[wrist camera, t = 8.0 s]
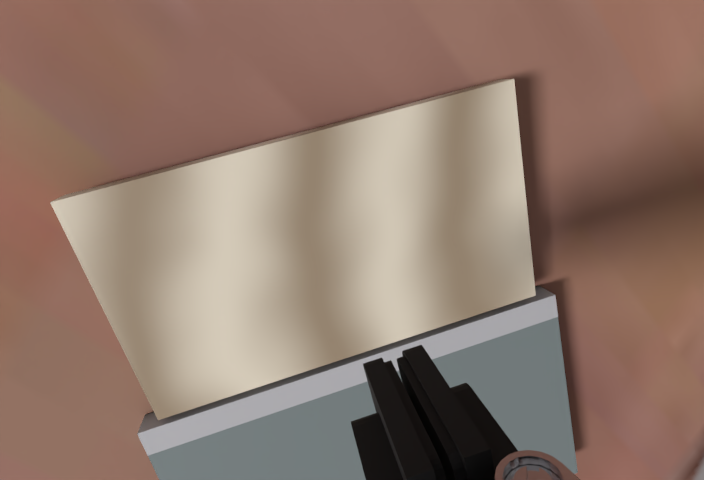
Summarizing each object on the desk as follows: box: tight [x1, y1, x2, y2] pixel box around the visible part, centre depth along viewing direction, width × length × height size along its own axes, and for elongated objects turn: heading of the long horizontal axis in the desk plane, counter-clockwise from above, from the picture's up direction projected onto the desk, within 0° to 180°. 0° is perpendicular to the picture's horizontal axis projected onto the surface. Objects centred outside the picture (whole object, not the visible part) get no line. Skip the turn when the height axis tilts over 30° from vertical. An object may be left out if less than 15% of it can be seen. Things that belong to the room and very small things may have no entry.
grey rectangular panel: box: [137, 286, 578, 480], centre depth 22 cm, size 20×11×1 cm, turn 104°
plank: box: [50, 79, 536, 420], centre depth 19 cm, size 18×10×1 cm, turn 104°
